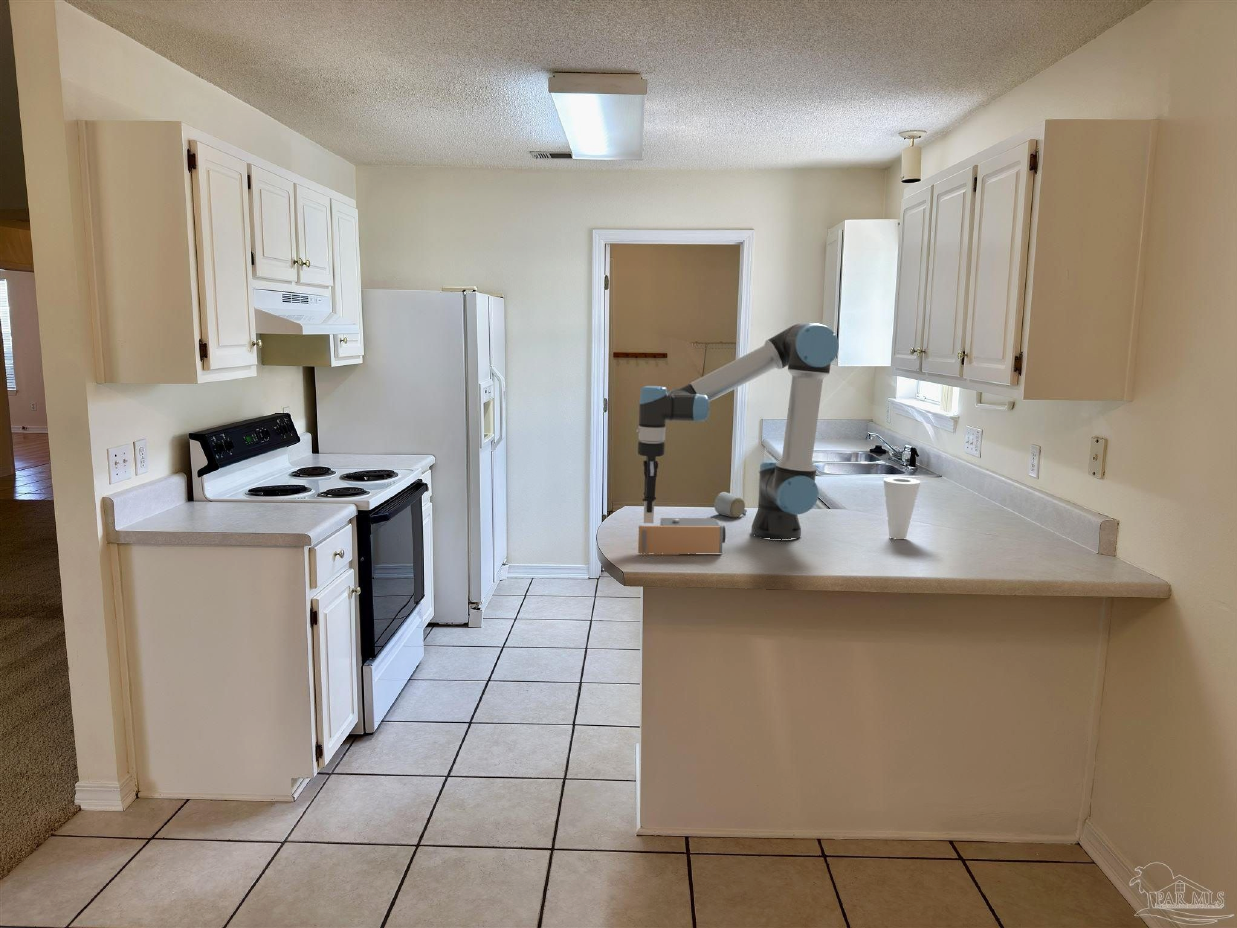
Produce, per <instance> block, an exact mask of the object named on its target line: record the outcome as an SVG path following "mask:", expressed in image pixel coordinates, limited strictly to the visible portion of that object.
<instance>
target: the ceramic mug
mask: <svg viewBox="0 0 1237 928" xmlns="http://www.w3.org/2000/svg"><path fill="white" fill-rule="evenodd" d="M713 505H714V510H715V512H716V513H717V514H718V515H722V516H726V517H729V518H735V519H736V518H737V519H738V518H739V517H741V516H742V515H746V514H747V513H748V511H747V509H746V508H745V507H746V503H745V501H744V499H743V498H742V497H739V496H737V495H734V494H732V493H728V492H726V491H722V492H720V493H718V495H717V496H716V497H715V500H714V504H713Z"/></svg>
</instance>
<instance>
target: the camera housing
mask: <svg viewBox="0 0 1237 928" xmlns="http://www.w3.org/2000/svg"><path fill="white" fill-rule="evenodd" d="M659 521H660V525H659V526H721V525H720V524H719V521H717V519H716V518H715V517H712V518H711V517H704V518H703V517H701V518H700V517H695V518H694V517H660V520H659ZM722 526H723V542H722V544H725V542H726V538H727V537H726V536H727V535H726V533H727V532H726V526H725V525H722Z"/></svg>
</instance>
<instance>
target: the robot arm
mask: <svg viewBox="0 0 1237 928" xmlns="http://www.w3.org/2000/svg"><path fill="white" fill-rule="evenodd" d="M838 353H839V339H838V337H837V335H836V333H835V332H834V331H833V329H832V328H830V327H829V326H827V325H824V324H822V323H818V322H816V323H815V322H814V323H813V322H810V323H808V322H807V323H804V322H801V323H796V324H794V325H791V326H789V327H787V328H786V329H784V330H783V331H781V332H779V333H777V334H775V335H774V336H772V337H771V338H768V339H767V340H765V342H764V345H762V346H760V347H758V348H756V349H754V350H753V351H749V353H747V354H744V355H742V356H740V357H739V358H736V359H735V360H733V361H731V362H728V363H727V364H724V365H723V366H720V367H719V368H717V369H715V370H714V371H711V372H709V373H708V374H706V375H704V376H702V377H700V378H698V379H696V380H694V381H692V382H690V383H688V384H686V385H684V386H682V387H680V388H674V389H672V390H670V391H669V392H668V388H667V387H666V386H662V385H661V386H660V385H645V386H642V387H641V388H640V390H639V391H640V393H639V401H638V405H639V407H638V409H639V411H638V428H637V429H636V433H638V440H639V441H638V443H637V455H639V456H642V457H646V458H645V460H643V464H642V466H643V475H644V489H643V490H644V492H643V497H644V498H642V502H643V503H644V505H643V524H654V520H655V519H654V513H655V511H654V510H655V500H657V497H656V483H657V476H658V468H659V462H658V460H656V458H657V457H663V456H664V455H665V446H666V444H665V442H664V441H665V440H666V430H667V428H666V421H670V422H671V421H676V422H677V421H680V422H681V421H682V422H684V421H685V422H695V423H697V422H705V421H706V420H707V419H708V418H709V415H710V402H711V401H714V400H716V399H717V398H720V397H721V396H723V395H725V394H728V393H729V392H731V391H733V390H735V389H737V388H740V387H741V386H743V385H745V384H747V383H749V382H751V381H753V380H755V379H757V378H759V377H761V376H763V375H765V374H767V373H769V372H771V371H772V370H775V369H777V370H782V369H785V368H786V367H787V371H788V372H789V373H790V375H791V384H790V392H789V400H788V408H787V416H786V423H785V431H784V439H783V446H782V456H781V459H780V460H772V461H771V460H770V461H768V460H767V461H762V462H761V463H760V466H759V471H758V474H759V478H758V479H759V480H758V481H759V482H758V505H757V511H756V514H755V517H754V518H753V521H752V524H751V528H750V529H751V530H750V531H751V533H752V534H753V535H752V534H751V533H750V534H751V535H752V536H754V535H755V536H754V537H756V538H759V537H761V538H760V539H763V538H770V539H781V540H782V539H791V538H798V537H800V536H802V527H801V524H800V523H801V522H800V520H799V517H798V515H803V514H806V513H808V512H809V511H810V510H812V509H813V508H814V507H815V505H816V504H817V502H818V499H819V488H818V485H817V483H816V477H817V467H816V466H815V465H814V464H813V463H814V462H813V457H814V447H815V443H816V442H815V441H816V434H817V427H818V419H819V412H820V406H821V405H820V403H821V397H822V389H823V382H824V381H823V380H824V379H825V378H826V377H827V376H828V375H830V372H831V366H832V365H831V363H832V362H834V360H835V359H836V357H837V356H838ZM800 538H801V537H800ZM798 539H799V538H798ZM781 540H780V541H781Z"/></svg>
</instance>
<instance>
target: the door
mask: <svg viewBox="0 0 1237 928" xmlns="http://www.w3.org/2000/svg"><path fill="white" fill-rule="evenodd" d="M723 526H724V525H720V526H660V525H638V538H637V539H638V541H637V543H638V544H637V545H638V547H637V548H638V549H637V553H642V554H641V555H650V554H649V553H654V554H653V555H679V554H688V553H689V554H696V553H722V554H723V543H722V542H723ZM644 553H645V554H644ZM662 553H663V554H662Z"/></svg>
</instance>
